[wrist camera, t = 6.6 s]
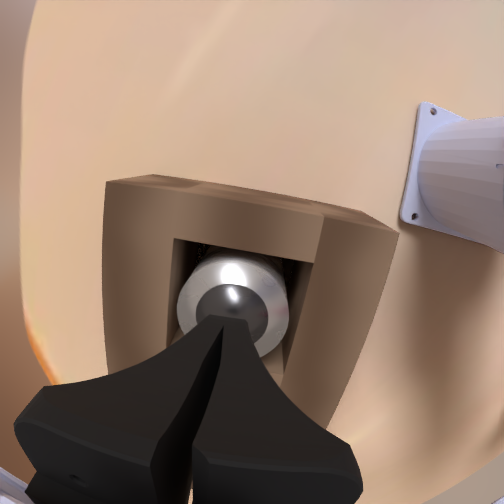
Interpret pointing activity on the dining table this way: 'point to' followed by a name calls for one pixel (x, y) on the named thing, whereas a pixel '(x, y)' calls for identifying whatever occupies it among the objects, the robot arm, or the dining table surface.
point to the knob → (238, 294)
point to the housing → (254, 240)
